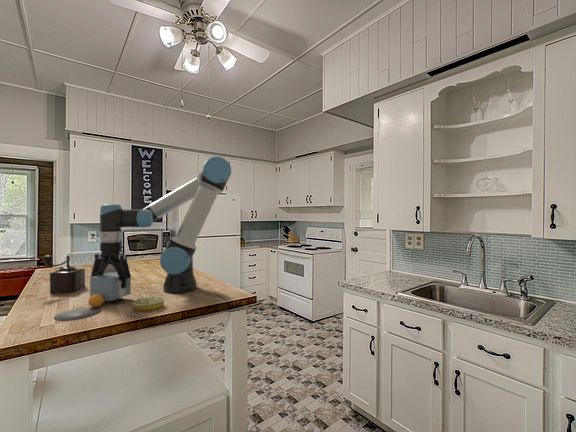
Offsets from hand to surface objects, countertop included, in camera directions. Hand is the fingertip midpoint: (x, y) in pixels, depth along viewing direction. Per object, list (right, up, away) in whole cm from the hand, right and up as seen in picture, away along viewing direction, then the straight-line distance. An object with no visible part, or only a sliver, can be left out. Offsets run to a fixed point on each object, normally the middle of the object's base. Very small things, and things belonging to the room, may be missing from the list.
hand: (110, 294), depth 125 cm
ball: (-1, 0, -8) cm, 8 cm away
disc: (-3, -3, -15) cm, 16 cm away
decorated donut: (+20, -3, -9) cm, 22 cm away
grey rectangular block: (0, -1, 0) cm, 1 cm away
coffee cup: (-14, -3, +21) cm, 25 cm away
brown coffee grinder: (-32, -3, +17) cm, 36 cm away
